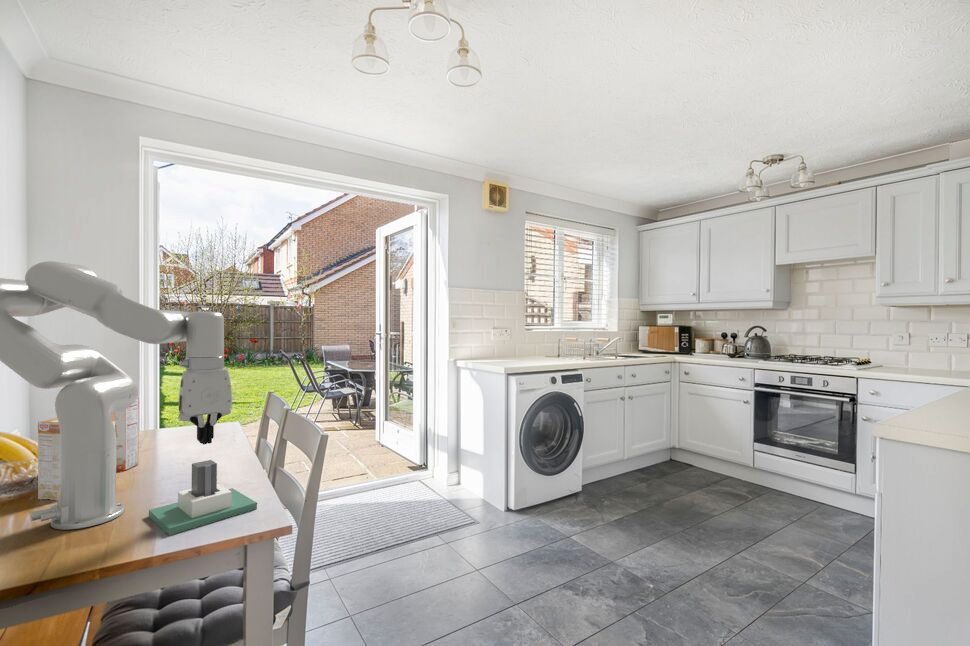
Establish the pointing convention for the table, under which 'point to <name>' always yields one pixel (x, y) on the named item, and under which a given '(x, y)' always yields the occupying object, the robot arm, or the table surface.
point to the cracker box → (127, 437)
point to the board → (179, 521)
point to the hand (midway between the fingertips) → (205, 442)
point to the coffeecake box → (50, 459)
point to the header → (204, 501)
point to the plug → (204, 478)
